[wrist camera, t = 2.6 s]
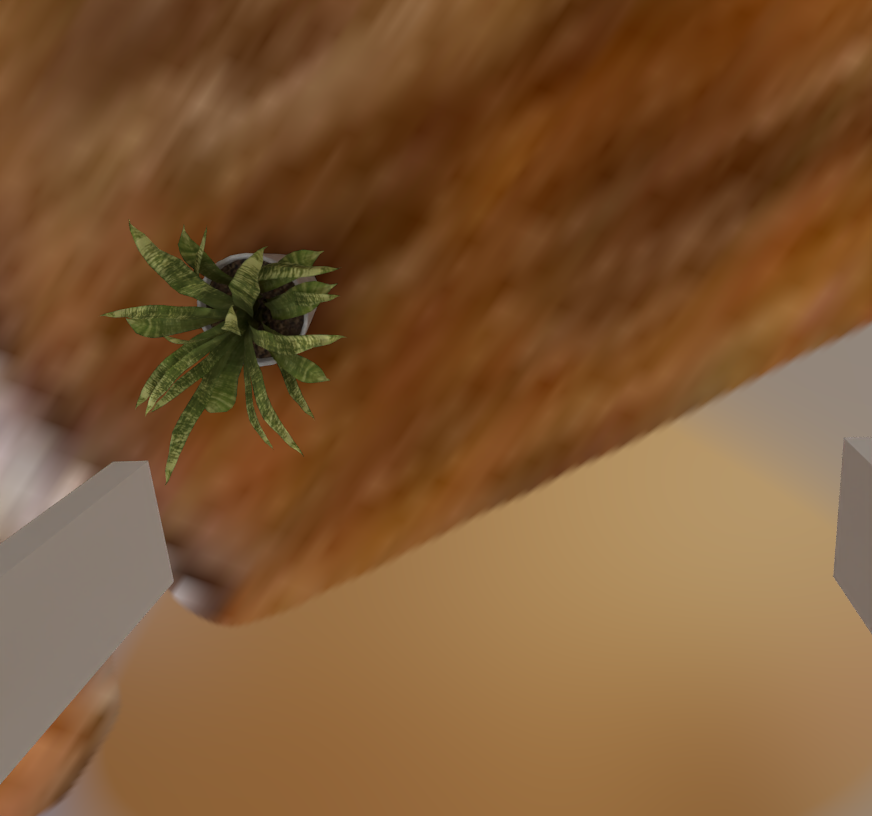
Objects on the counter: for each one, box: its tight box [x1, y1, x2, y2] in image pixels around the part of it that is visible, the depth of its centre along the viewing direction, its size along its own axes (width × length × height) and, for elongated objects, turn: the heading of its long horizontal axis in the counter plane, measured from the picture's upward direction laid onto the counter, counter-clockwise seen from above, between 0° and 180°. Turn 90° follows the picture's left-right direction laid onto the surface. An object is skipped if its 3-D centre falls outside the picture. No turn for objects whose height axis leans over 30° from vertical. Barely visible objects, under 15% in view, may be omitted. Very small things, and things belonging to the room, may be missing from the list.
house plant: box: [100, 221, 347, 485], centre depth 47 cm, size 14×14×16 cm
